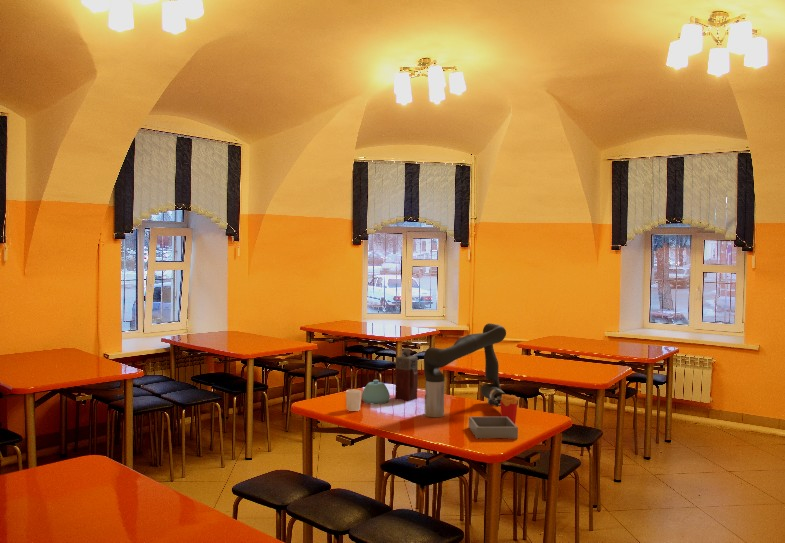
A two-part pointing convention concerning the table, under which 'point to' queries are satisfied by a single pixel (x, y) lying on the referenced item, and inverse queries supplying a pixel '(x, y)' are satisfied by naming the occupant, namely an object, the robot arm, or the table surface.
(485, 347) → the robot arm
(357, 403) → the white cup
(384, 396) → the sugar bowl
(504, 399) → the french fries
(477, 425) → the bin
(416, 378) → the brown coffee grinder
